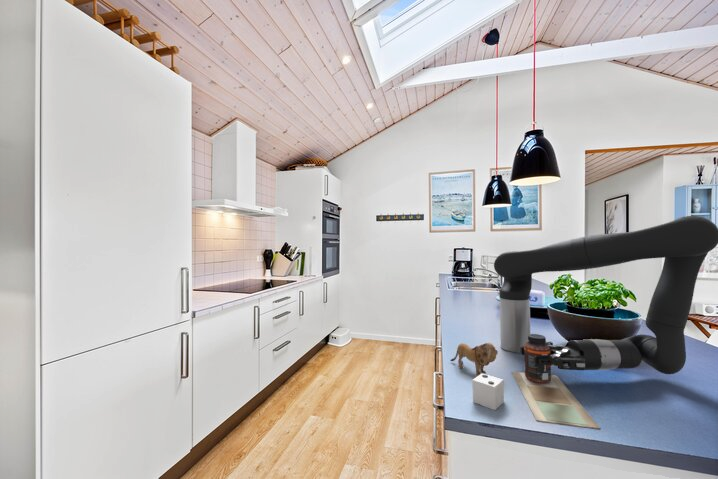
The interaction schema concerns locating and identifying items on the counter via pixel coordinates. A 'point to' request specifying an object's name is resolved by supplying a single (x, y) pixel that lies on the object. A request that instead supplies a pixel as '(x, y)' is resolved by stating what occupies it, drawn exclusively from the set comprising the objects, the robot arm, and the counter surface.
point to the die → (488, 391)
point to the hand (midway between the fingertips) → (527, 355)
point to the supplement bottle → (531, 349)
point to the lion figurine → (477, 355)
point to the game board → (553, 402)
